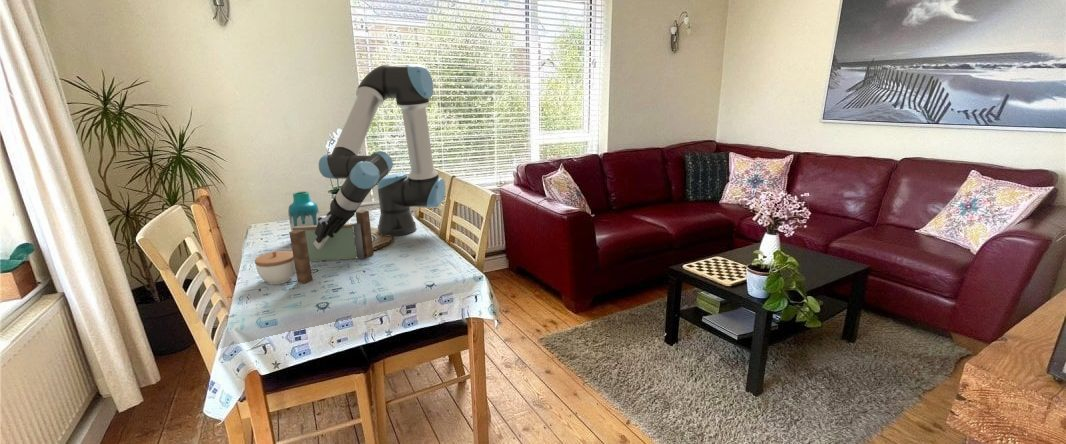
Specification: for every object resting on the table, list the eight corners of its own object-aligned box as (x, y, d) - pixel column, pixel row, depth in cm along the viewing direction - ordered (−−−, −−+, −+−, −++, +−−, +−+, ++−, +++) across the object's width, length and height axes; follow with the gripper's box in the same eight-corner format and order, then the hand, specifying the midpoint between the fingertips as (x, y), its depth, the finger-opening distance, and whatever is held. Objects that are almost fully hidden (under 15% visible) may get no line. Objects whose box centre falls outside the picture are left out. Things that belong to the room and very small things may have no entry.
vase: (299, 247, 171) (291, 197, 166) (288, 241, 178) (280, 193, 173) (328, 240, 178) (320, 192, 173) (316, 235, 185) (309, 188, 180)
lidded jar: (282, 288, 135) (276, 259, 133) (250, 286, 138) (244, 256, 135) (306, 275, 146) (301, 246, 143) (276, 272, 148) (271, 245, 145)
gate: (365, 255, 161) (360, 222, 157) (363, 258, 158) (359, 224, 155) (300, 259, 158) (295, 226, 155) (298, 262, 156) (292, 228, 152)
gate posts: (367, 253, 164) (362, 209, 159) (373, 254, 163) (368, 210, 158) (297, 282, 140) (289, 232, 136) (304, 283, 139) (296, 233, 134)
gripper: (355, 188, 148) (326, 232, 160) (322, 197, 137) (293, 243, 149) (370, 206, 147) (339, 248, 159) (337, 216, 136) (307, 260, 148)
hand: (317, 245), depth 154 cm, fingers closed
